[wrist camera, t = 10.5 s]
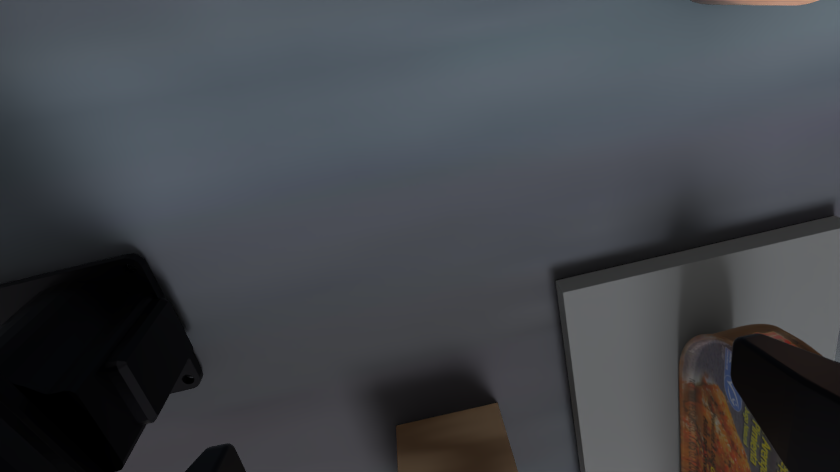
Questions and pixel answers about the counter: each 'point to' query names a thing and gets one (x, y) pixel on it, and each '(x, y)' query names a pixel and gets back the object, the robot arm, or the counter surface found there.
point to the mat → (683, 331)
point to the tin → (722, 407)
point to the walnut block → (456, 443)
